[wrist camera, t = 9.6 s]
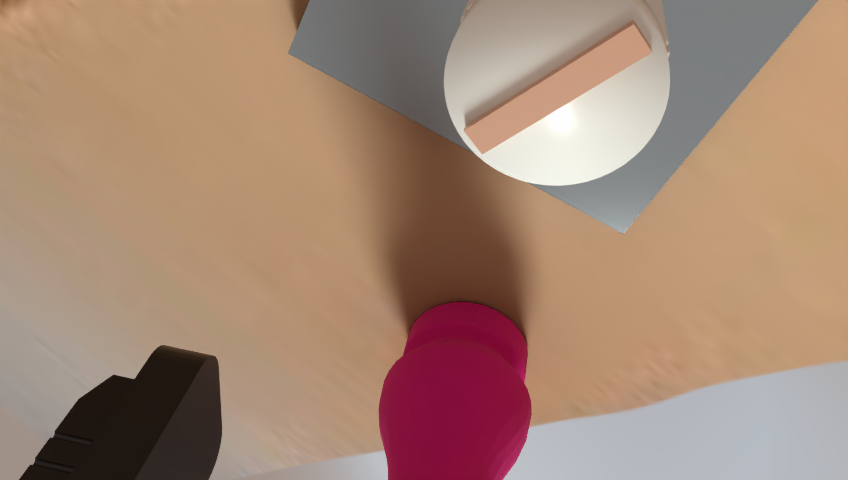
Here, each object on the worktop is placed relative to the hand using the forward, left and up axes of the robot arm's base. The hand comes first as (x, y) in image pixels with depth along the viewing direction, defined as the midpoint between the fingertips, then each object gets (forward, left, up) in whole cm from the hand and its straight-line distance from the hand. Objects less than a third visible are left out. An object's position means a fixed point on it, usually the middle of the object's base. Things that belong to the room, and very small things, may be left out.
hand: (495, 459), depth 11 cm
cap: (0, +1, -16) cm, 16 cm away
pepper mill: (+6, -19, -24) cm, 31 cm away
